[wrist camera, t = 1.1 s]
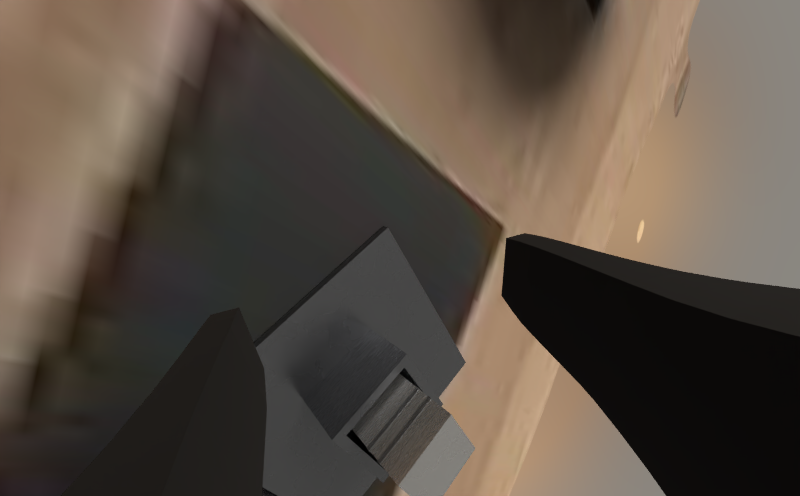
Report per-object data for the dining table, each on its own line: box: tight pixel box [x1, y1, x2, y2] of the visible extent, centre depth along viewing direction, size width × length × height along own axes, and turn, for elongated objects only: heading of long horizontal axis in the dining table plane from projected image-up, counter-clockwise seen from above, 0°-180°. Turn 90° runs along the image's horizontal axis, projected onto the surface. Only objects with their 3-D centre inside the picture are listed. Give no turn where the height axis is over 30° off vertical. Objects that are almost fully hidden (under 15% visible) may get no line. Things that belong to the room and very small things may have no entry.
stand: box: [254, 226, 466, 496], centre depth 22 cm, size 16×16×5 cm
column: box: [352, 374, 475, 496], centre depth 20 cm, size 4×4×8 cm
